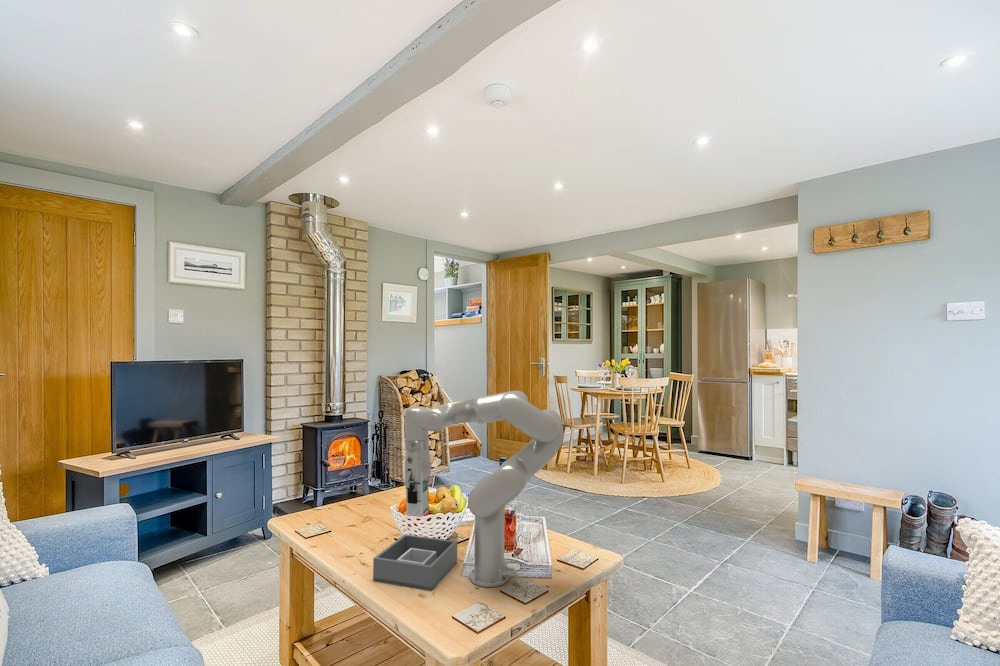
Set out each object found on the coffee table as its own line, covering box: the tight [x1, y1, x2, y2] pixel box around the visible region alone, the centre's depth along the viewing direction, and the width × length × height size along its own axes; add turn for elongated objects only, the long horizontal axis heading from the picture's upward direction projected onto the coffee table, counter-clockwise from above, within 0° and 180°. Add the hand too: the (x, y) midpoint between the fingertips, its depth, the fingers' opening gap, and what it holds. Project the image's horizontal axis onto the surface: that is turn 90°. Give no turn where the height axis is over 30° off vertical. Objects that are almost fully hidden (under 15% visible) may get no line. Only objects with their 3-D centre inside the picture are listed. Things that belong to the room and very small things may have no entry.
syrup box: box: [405, 472, 430, 518], centre depth 160 cm, size 6×6×14 cm
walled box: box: [372, 533, 458, 592], centre depth 160 cm, size 20×20×7 cm
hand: (417, 499), depth 160 cm, fingers closed on syrup box, 6 cm apart
